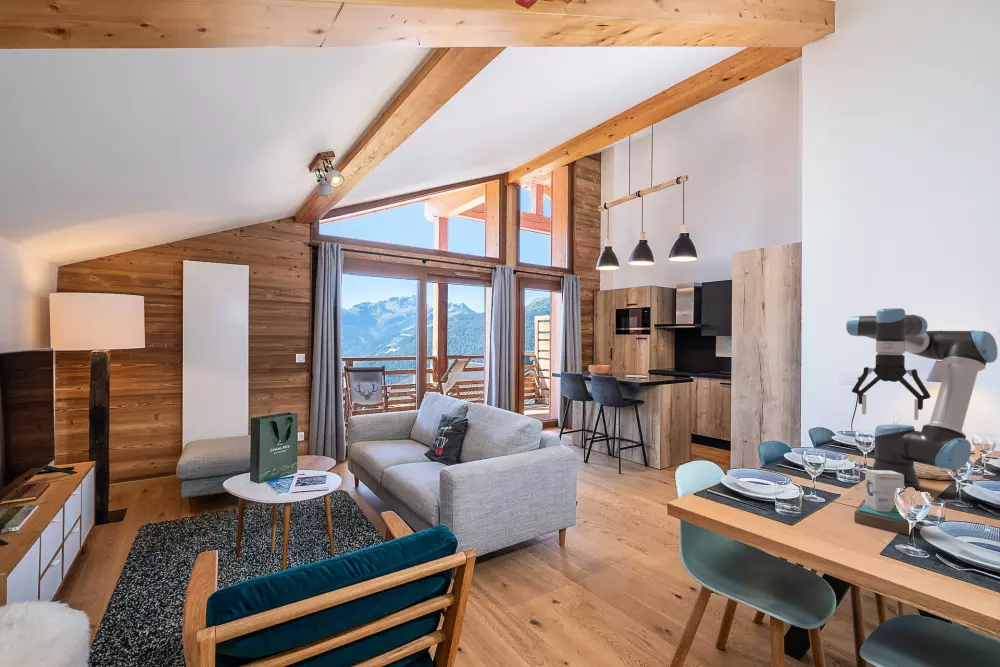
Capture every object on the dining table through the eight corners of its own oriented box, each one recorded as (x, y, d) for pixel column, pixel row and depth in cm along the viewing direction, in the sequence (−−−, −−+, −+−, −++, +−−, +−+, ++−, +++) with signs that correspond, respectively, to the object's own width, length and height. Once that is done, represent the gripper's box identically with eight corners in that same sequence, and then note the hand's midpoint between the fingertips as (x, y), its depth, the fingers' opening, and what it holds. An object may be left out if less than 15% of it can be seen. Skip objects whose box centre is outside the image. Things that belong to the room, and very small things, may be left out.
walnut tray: (863, 508, 155) (863, 497, 155) (915, 520, 146) (915, 508, 146) (854, 521, 144) (854, 510, 144) (909, 535, 135) (910, 523, 135)
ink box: (876, 512, 143) (876, 473, 143) (864, 505, 148) (864, 468, 148) (905, 512, 142) (905, 474, 142) (892, 506, 147) (892, 469, 147)
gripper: (842, 352, 163) (841, 412, 163) (940, 355, 145) (939, 423, 145) (846, 352, 168) (846, 410, 168) (941, 355, 150) (940, 420, 150)
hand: (889, 416), depth 156 cm, fingers open, 13 cm apart
